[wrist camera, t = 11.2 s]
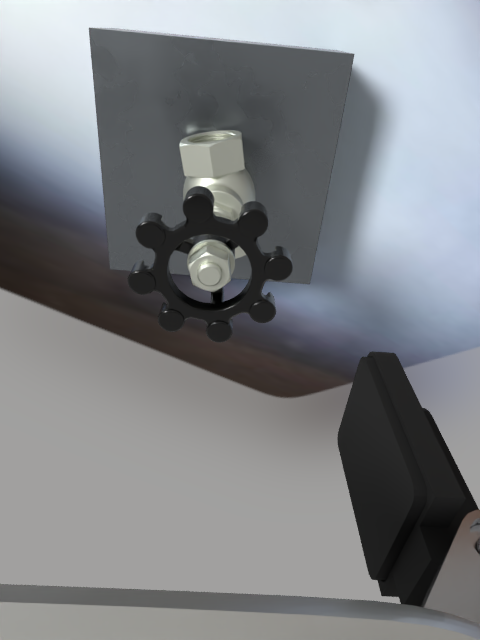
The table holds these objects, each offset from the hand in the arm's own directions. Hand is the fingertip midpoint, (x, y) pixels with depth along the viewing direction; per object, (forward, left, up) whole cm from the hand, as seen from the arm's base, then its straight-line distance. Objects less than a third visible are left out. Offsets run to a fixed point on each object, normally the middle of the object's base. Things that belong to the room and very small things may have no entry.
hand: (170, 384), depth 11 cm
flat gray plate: (0, 0, -24) cm, 24 cm away
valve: (+1, -1, -19) cm, 19 cm away
